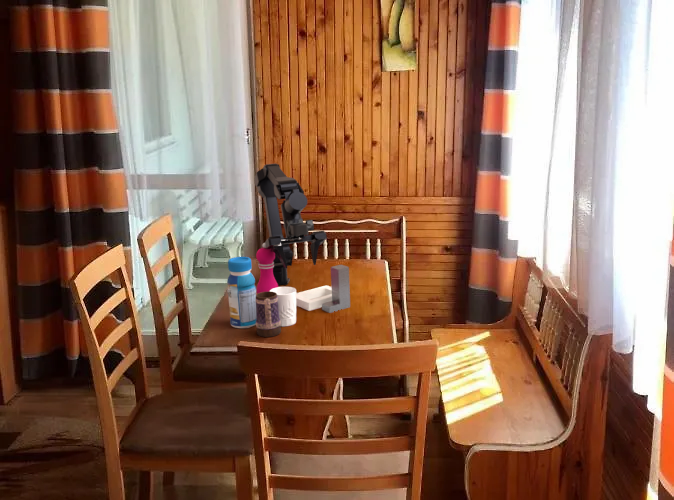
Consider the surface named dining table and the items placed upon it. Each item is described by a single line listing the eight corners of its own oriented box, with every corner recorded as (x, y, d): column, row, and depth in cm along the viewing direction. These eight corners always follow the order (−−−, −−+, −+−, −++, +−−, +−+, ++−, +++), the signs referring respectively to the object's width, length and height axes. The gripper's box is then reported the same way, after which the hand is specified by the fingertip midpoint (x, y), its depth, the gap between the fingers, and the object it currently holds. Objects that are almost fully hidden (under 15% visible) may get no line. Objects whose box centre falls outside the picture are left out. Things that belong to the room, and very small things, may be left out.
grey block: (322, 309, 232) (320, 269, 228) (342, 304, 236) (340, 264, 233) (329, 313, 228) (327, 272, 225) (350, 307, 233) (348, 267, 230)
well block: (289, 302, 240) (288, 295, 239) (326, 292, 248) (326, 285, 248) (309, 310, 231) (308, 303, 230) (347, 300, 240) (346, 292, 239)
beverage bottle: (254, 329, 217) (249, 263, 212) (226, 328, 219) (220, 263, 214) (261, 319, 225) (257, 255, 220) (235, 318, 227) (230, 255, 222)
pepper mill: (281, 299, 243) (278, 240, 238) (277, 306, 236) (274, 245, 231) (259, 299, 244) (255, 240, 238) (255, 306, 237) (251, 245, 232)
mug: (256, 329, 217) (253, 290, 214) (281, 327, 218) (278, 288, 215) (256, 342, 207) (253, 301, 204) (281, 340, 208) (279, 299, 205)
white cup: (277, 329, 217) (275, 296, 214) (267, 321, 223) (265, 289, 221) (302, 324, 220) (300, 291, 218) (291, 316, 227) (289, 285, 224)
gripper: (268, 214, 224) (277, 265, 221) (327, 208, 230) (336, 257, 227) (261, 224, 235) (269, 272, 232) (317, 217, 240) (326, 264, 238)
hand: (300, 266), depth 232 cm, fingers open, 9 cm apart
